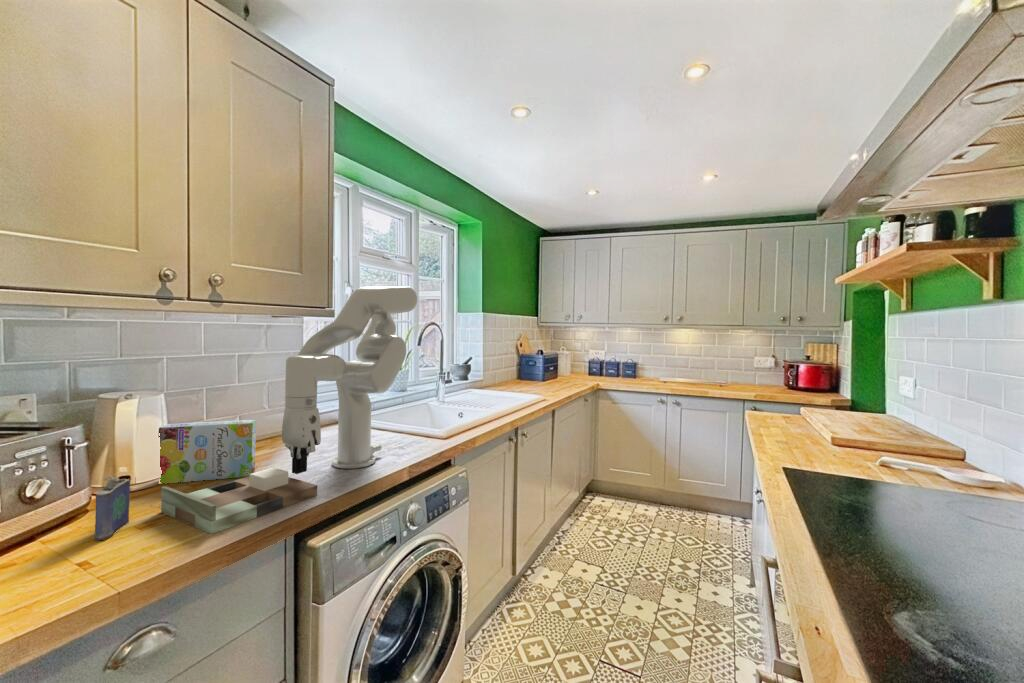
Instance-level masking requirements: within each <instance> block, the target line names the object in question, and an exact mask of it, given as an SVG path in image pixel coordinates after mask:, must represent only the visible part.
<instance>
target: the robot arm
mask: <svg viewBox="0 0 1024 683" xmlns="http://www.w3.org/2000/svg"><path fill="white" fill-rule="evenodd" d="M417 304H418V296H417V293H416V291H415V290H414V289H413V288H412V287H411V286H408V285H406V286H403V285H402V286H398V285H397V286H362V287H358V288H356V289H355V290H354V291H353V292H352V293H351V295H350V296H349V297H348V299H347V301H346V302H345V304H344V306H343V307H342V308H341V311H340V312H339V313H338V315H337V317H336V318H335V320H334V321H332V322H331V323H330V324H327V325H326V326H324V327H323V328H322V329H320V330H319V331H317V332H316V333H315V334H313V335H312V336H311V337H310V338H308V339H307V341H306V342H305V343H304V345H303V346H302V347H301V349H300V351H299V352H298V354H297V355H291V356H288V357H287V358H286V360H285V388H284V390H285V392H284V411H283V417H282V423H281V424H282V425H281V426H282V428H281V441H282V443H283V444H284V447H285V448H287V450H289V452H290V458H291V459H292V460H291V473H292V474H296V475H299V474H302V473H305V472H307V470H308V457H309V456H310V453H314V452H316V446H319V445H320V444H321V439H322V437H321V436H322V435H321V434H322V432H321V431H322V430H321V429H322V428H321V417H320V411H319V408H318V407H317V404H318V402H317V401H318V383H319V382H335V385H336V389H337V395H338V418H337V419H338V424H337V426H338V427H337V428H338V429H337V430H338V431H337V432H338V433H337V457H334V458H333V459H332V460H331V465H332V466H333V467H335V468H338V469H360V468H365V467H369V466H371V464H372V465H373V464H374V463H375V462H376V458H377V457H376V456H375V455H374V454H375V452H380V451H381V450H382V445H381V444H377V445H374V446H373V445H372V443H371V442H372V440H371V438H372V436H371V435H372V402H371V398H370V397H369V394H378V395H379V394H384V393H386V392H387V391H388V390H390V388H391V387H392V385H393V384H394V382H395V380H396V377H397V376H398V375H399V371H400V370H401V368H402V366H403V364H404V361H405V359H406V355H407V345H406V342H405V340H404V339H403V338H402V337H401V336H398V335H395V334H396V330H397V327H396V326H397V325H396V323H395V321H394V319H393V317H392V315H394V314H395V315H397V314H401V313H409V312H411V311H413V310H414V309H415V308H416V306H417ZM370 321H371V322H370ZM369 322H370V324H369V326H368V328H367V329H366V327H367V325H368V323H369ZM365 329H366V330H365ZM364 330H365V332H364ZM363 333H364V334H363ZM362 334H363V336H362V337H361V335H362ZM360 337H361V339H360V341H359V343H358V344H357V347H356V350H355V356H356V358H357V359H358V360H347V361H345V360H344V358H342V357H341V356H339V355H336V354H330V353H329V354H328V352H329V351H331V350H332V349H335V348H337V347H338V346H340V345H344V344H346V343H350V342H352V341H354V340H356V339H358V338H360Z"/></svg>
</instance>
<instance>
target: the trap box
mask: <svg viewBox="0 0 1024 683" xmlns="http://www.w3.org/2000/svg"><path fill="white" fill-rule="evenodd" d="M249 481H250V476H249V477H240V478H237V479H235V480H232V481H228V482H224V483H220V484H216V485H213V486H210V487H206V488H202V489H200V490H195V491H193V492H187V493H185V492H182V491H180V490H177V489H175V488H172V487H169V486H161V488H160V489H161V496H160V497H161V499H160V500H161V502H160V504H161V506H160V507H161V508H160V510H161V511H160V512H161V513H162V514H165V515H167V516H169V517H171V518H174V519H175V520H178V521H180V522H183V523H184V524H187V525H190V526H192V527H194V528H196V529H198V530H201V531H203V532H205V533H208V534H210V535H213V534H215V533H219V532H222V531H224V530H227V529H230V528H232V527H235V526H238V525H240V524H243V523H246V522H248V521H251V520H253V519H257V518H259V517H262V516H265V515H269V514H270V513H273V512H275V511H278V510H282V509H284V508H286V507H289V506H292V505H295V504H297V503H300V502H302V501H306V500H308V499H311V498H314V497H316V496H318V484H314V483H311V482H307V481H304V480H300V479H296V478H293V477H291V476H288V484H285V485H282V486H279V487H276V488H273V489H269V490H266V491H263V490H260V489H256V488H253V487H250V486H249Z"/></svg>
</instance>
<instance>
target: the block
mask: <svg viewBox="0 0 1024 683" xmlns="http://www.w3.org/2000/svg"><path fill="white" fill-rule="evenodd" d="M288 477H289V471H288V470H284V469H281V468H278V467H277V468H276V467H269V468H267V469H263V470H259V471H256V472H254V473H251V474H250V481H249V486H250V487H253V488H256V489H260V490H263V491H266V490H269V489H273V488H276V487H279V486H282V485H285V484H288Z"/></svg>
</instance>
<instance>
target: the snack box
mask: <svg viewBox="0 0 1024 683" xmlns="http://www.w3.org/2000/svg"><path fill="white" fill-rule="evenodd" d="M256 421H257V420H256V419H244V420H243V419H242V420H221V421H220V420H219V421H202V422H199V421H198V422H182V423H181V422H180V423H166V424H167V425H165V424H164V425H165V426H164V425H162V426H160V427H158V434H159V433H160V436H159V435H158V438H159V437H160V447H161V449H160V467H161V470H162V474H161V478H160V479H161V480H160V482H161V483H165V484H164V485H167V483H170V484H177V483H178V482H179V484H180V482H181V483H190V482H191V481H194V482H201V481H203V480H205V481H213V480H214V481H215V480H216V479H217V480H227V479H240V478H245V477H249V476H250V474H251V473H255V471H256V434H257V432H256V430H257V429H256V427H257V426H256V424H257V422H256ZM191 483H192V482H191Z"/></svg>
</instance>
